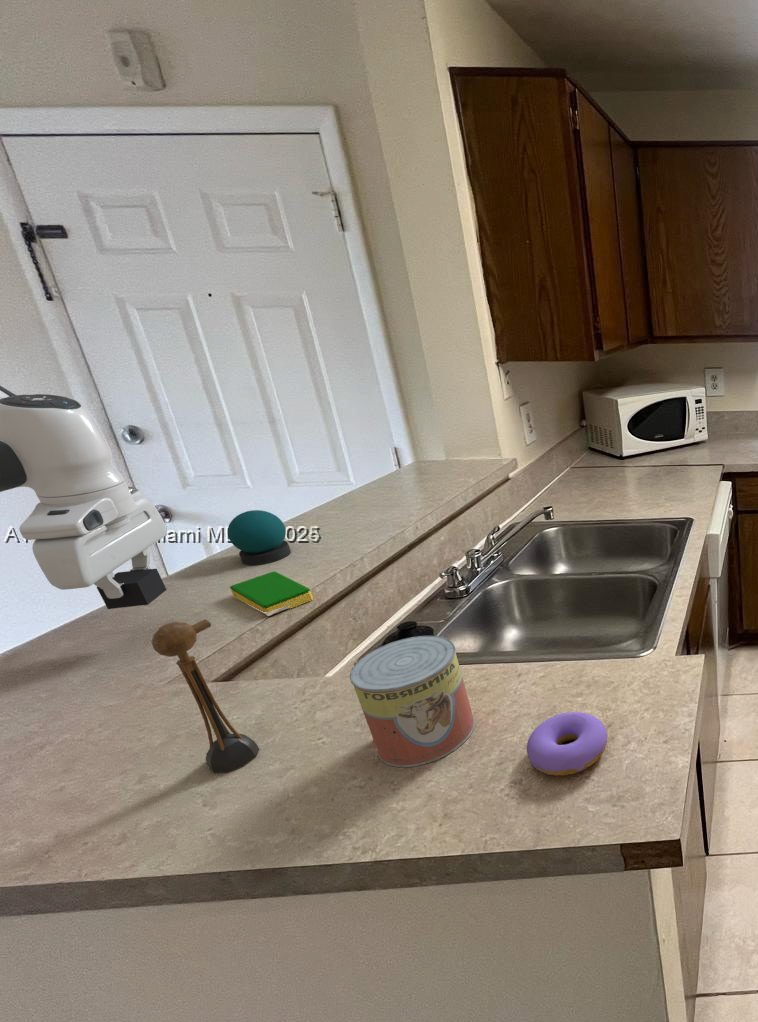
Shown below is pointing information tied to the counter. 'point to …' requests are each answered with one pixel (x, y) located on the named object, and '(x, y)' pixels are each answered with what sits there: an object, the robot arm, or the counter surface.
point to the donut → (570, 756)
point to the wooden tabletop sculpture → (205, 698)
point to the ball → (258, 537)
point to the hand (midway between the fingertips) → (131, 586)
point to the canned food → (414, 700)
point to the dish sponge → (271, 592)
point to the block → (136, 588)
